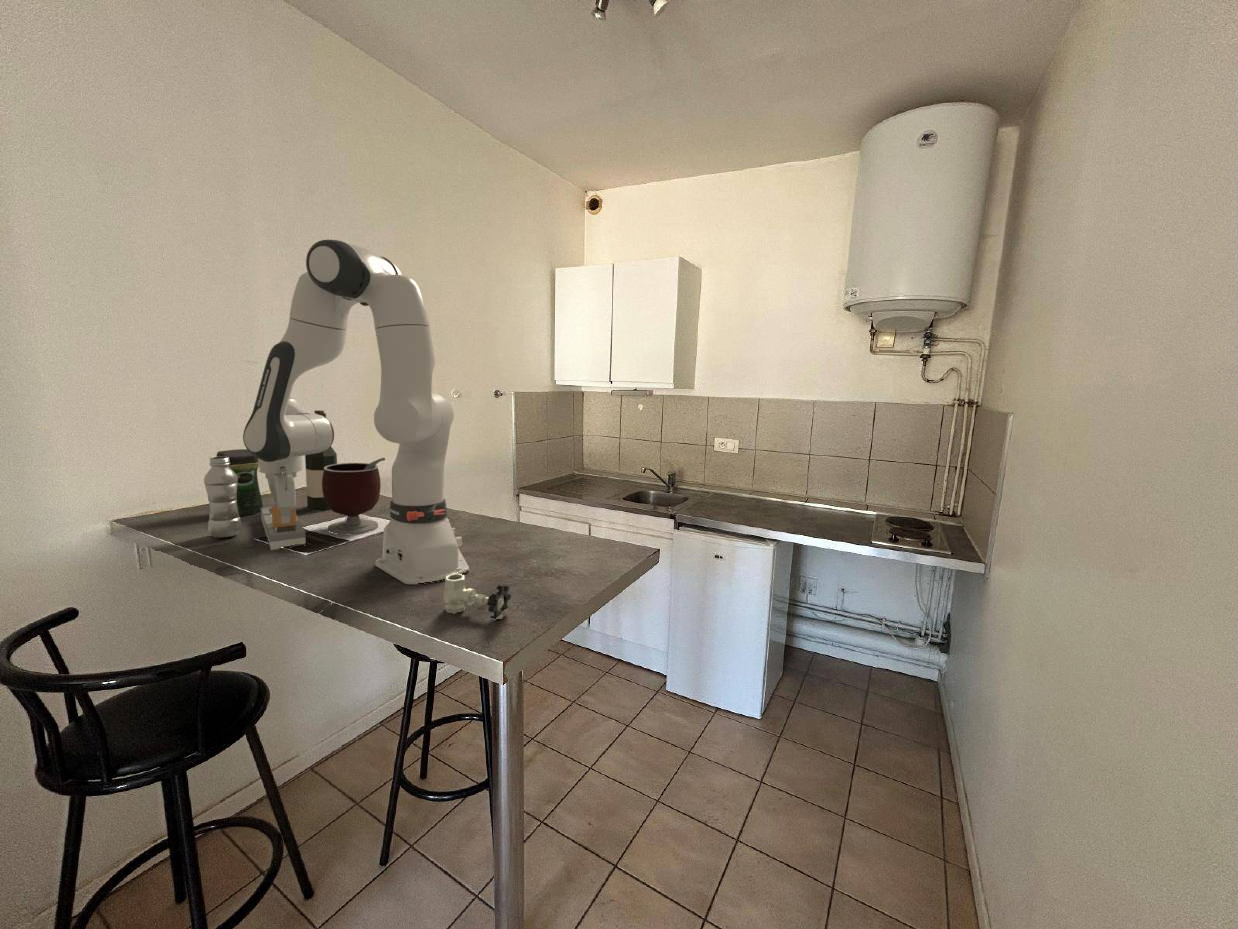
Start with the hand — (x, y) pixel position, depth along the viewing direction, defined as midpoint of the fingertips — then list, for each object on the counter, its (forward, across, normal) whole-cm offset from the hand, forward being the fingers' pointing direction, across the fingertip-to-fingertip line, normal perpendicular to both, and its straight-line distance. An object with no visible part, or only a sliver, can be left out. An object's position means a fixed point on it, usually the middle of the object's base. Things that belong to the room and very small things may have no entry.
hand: (283, 518), depth 122 cm
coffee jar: (+6, +31, +7) cm, 32 cm away
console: (+6, +7, 0) cm, 9 cm away
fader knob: (+3, 0, 0) cm, 3 cm away
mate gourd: (+6, +2, -17) cm, 18 cm away
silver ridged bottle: (+6, +9, +11) cm, 16 cm away
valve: (+6, -61, -23) cm, 66 cm away
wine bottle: (+6, +28, -13) cm, 31 cm away
